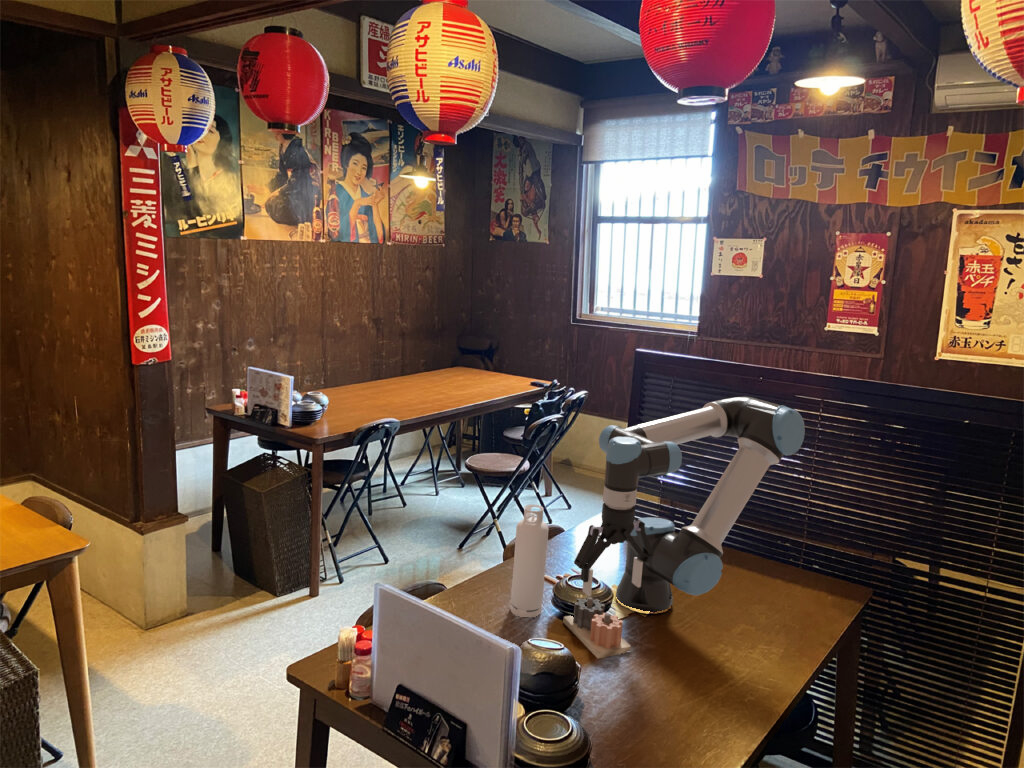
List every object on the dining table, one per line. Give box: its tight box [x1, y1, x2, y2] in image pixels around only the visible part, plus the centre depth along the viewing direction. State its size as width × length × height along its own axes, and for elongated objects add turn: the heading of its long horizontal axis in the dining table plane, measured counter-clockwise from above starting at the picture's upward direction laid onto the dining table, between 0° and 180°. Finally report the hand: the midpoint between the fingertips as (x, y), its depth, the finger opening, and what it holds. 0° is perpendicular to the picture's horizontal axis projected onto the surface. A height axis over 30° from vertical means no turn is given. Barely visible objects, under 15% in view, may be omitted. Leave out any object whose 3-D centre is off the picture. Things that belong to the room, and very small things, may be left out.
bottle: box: [509, 503, 550, 618], centre depth 187 cm, size 8×8×28 cm
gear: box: [590, 612, 624, 648], centre depth 175 cm, size 7×7×5 cm
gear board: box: [562, 596, 632, 659], centre depth 179 cm, size 9×17×8 cm, turn 24°
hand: (611, 589), depth 174 cm, fingers open, 13 cm apart
